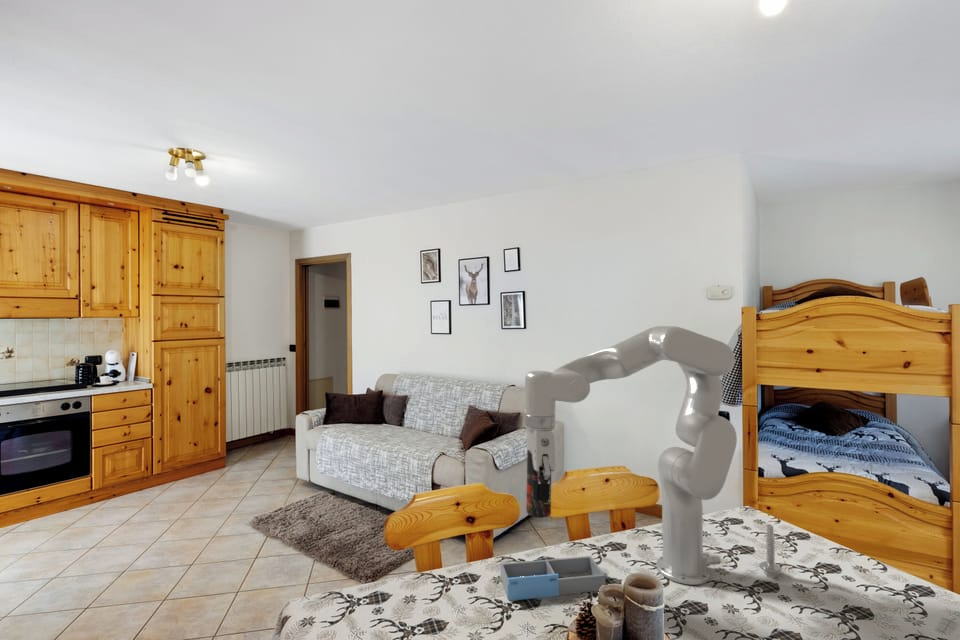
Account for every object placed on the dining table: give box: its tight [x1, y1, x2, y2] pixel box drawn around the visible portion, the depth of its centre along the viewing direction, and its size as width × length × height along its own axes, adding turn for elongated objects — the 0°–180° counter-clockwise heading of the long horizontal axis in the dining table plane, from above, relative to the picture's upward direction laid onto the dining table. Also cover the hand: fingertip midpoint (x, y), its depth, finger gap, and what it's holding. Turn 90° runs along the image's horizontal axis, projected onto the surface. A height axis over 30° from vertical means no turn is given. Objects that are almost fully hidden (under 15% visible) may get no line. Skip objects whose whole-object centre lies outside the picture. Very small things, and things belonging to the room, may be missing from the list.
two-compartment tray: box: [499, 555, 606, 602], centre depth 111 cm, size 24×10×5 cm, turn 98°
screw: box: [758, 523, 783, 579], centre depth 114 cm, size 13×5×5 cm
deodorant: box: [526, 449, 552, 518], centre depth 111 cm, size 6×6×15 cm
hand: (538, 493), depth 111 cm, fingers closed on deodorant, 5 cm apart
